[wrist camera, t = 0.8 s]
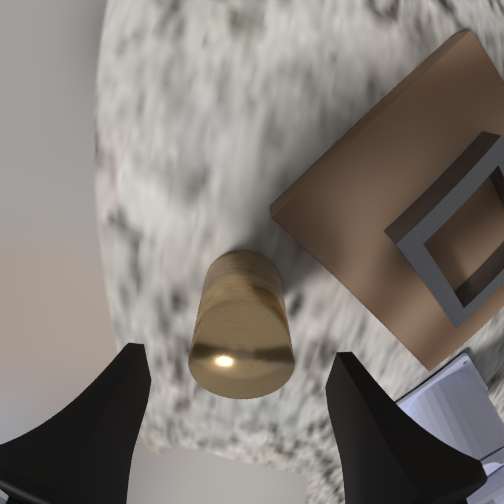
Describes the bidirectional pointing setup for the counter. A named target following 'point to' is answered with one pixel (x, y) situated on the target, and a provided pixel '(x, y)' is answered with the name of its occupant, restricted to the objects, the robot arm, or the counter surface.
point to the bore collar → (438, 212)
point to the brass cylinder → (241, 329)
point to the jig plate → (407, 197)
